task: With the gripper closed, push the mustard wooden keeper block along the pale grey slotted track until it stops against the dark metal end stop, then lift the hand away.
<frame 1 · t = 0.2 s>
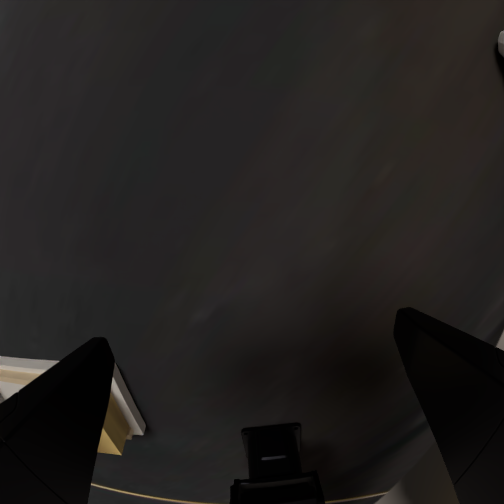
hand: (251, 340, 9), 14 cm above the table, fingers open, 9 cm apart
keeper: (89, 420, 26), point 4 cm above the table, slide at 0.0 cm
track: (50, 391, 29), on the table
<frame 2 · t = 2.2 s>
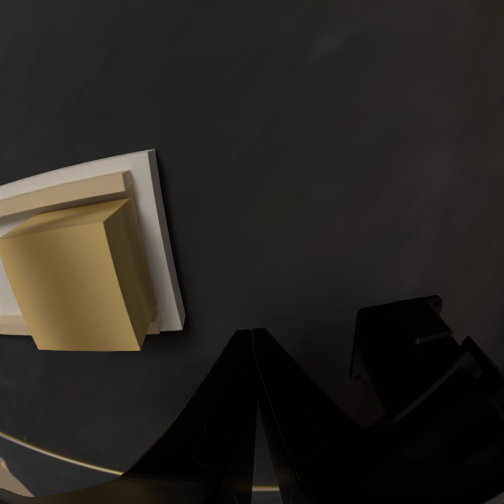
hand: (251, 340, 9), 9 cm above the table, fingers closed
keeper: (79, 276, 14), point 4 cm above the table, slide at 0.0 cm
track: (19, 258, 17), on the table
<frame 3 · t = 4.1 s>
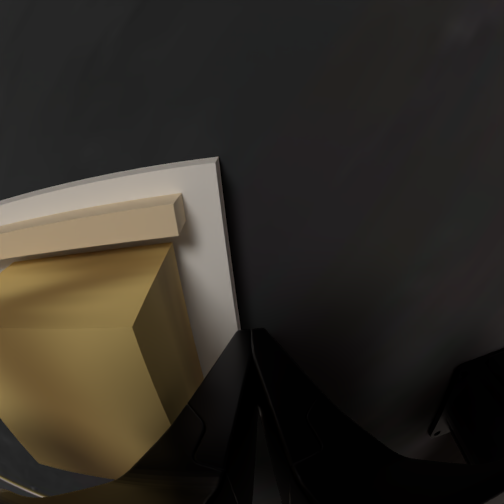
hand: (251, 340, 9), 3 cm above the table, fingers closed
keeper: (88, 373, 8), point 4 cm above the table, slide at 0.4 cm, touching gripper
track: (5, 312, 12), on the table
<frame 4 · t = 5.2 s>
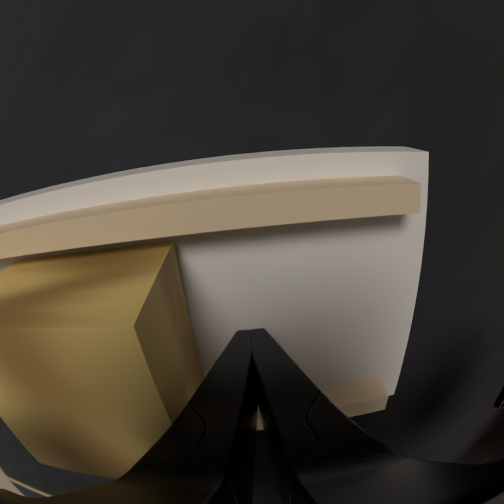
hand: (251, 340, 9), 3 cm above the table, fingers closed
keeper: (88, 372, 8), point 4 cm above the table, slide at 6.7 cm, touching gripper
track: (114, 307, 12), on the table
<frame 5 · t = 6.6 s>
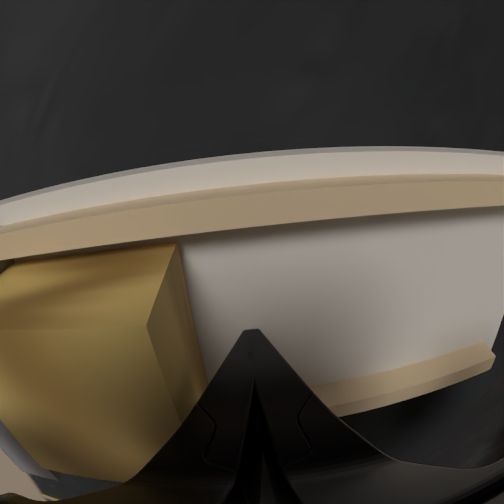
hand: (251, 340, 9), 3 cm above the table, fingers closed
keeper: (92, 374, 8), point 4 cm above the table, slide at 12.4 cm, touching gripper
track: (265, 295, 12), on the table
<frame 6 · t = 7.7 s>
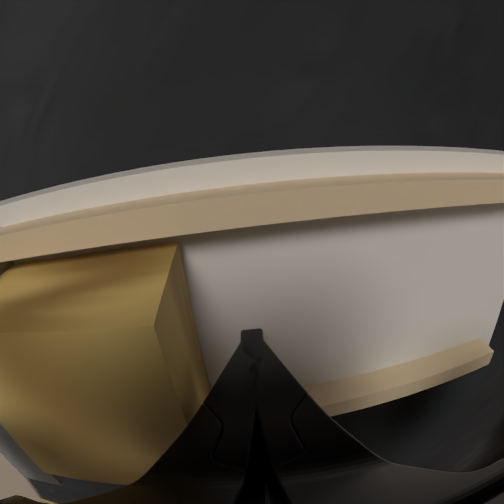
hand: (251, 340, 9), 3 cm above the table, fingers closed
keeper: (93, 377, 8), point 4 cm above the table, slide at 12.5 cm, touching gripper
track: (266, 294, 12), on the table
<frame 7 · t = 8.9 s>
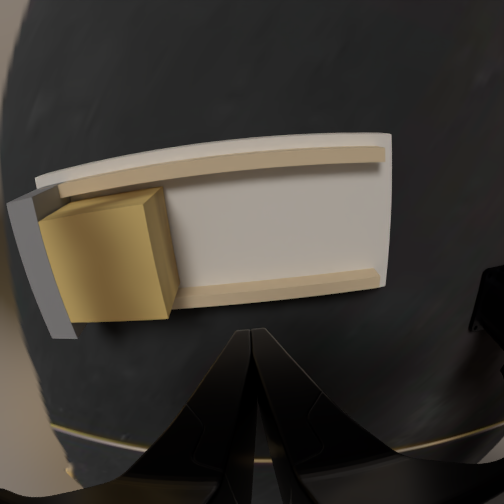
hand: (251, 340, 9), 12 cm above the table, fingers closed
keeper: (113, 255, 17), point 4 cm above the table, slide at 12.3 cm
track: (212, 223, 20), on the table
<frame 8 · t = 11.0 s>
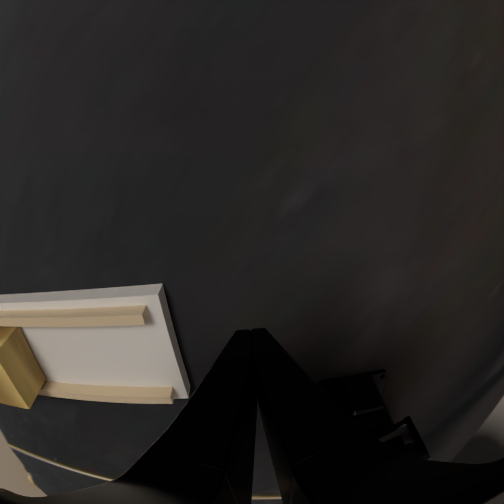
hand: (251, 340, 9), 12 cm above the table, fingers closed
keeper: (0, 365, 20), point 4 cm above the table, slide at 12.3 cm
track: (59, 342, 24), on the table
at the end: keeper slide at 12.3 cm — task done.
